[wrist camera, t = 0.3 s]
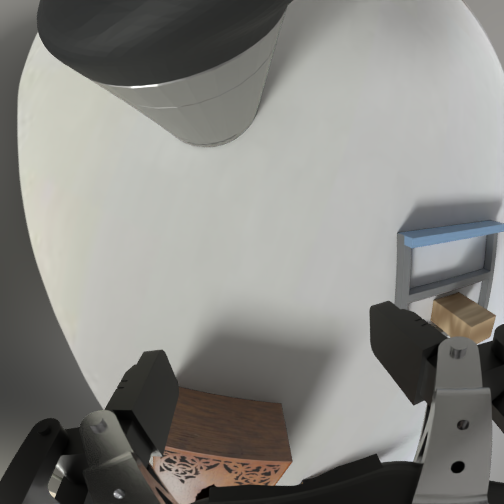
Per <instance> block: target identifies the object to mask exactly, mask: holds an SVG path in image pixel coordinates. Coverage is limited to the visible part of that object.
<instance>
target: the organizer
mask: <svg viewBox="0 0 504 504" xmlns="http://www.w3.org/2000/svg"><path fill="white" fill-rule="evenodd" d="M499 232H504V223H500V222H496V221H492V220H489V221H481V222H474V223H466V224H459V225H452V226H444V227H437V228H429V229H422V230H415V231H407V232H400V233H397V275H396V292H395V305H396V306H397V307H398V308H399V309H406V310H407V308H408V303H411V302H415V301H418V300H422V299H426V298H429V297H433V296H436V295H440V294H443V293H446V292H449V291H453V290H456V289H459V288H462V287H465V286H468V285H471V284H474V283H477V282H480V281H482V285H481V291H480V297H479V302H478V304H479V305H480V306H482V307H483V308H485V309H487V307H488V302H489V297H490V292H491V286H492V280H493V274H494V266H495V258H496V248H497V235H498V233H499ZM483 235H487V241H486V253H485V263H484V269H481V270H478V271H474V272H471V273H467V274H464V275H461V276H457V277H454V278H450V279H446V280H443V281H439V282H435V283H431V284H427V285H423V286H419V287H415V288H411V289H409V287H410V273H411V249H412V248H416V247H422V246H428V245H433V244H439V243H445V242H450V241H456V240H461V239H467V238H472V237H478V236H483ZM436 329H437V330H438V331H440V332H441V333H442V334H443V335H445V336H448V334H447V333H445V332H444V331H443V330H442V329H441V328H439V327H436Z"/></svg>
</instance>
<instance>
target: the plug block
mask: <svg viewBox="0 0 504 504" xmlns="http://www.w3.org/2000/svg"><path fill="white" fill-rule="evenodd" d="M495 317H496V315H494V314H493V313H491V312H490V311H488V310H487V309H485V308H483V307H482V306H480V305H479V304H477V303H475V302H474V301H472V300H471V299H469V298H467V297H466V296H464V295H462V294H461V293H459V292H458V293H455V294H452V295H449V296H445V297H442V298H439V299H436V300H434V301H433V308H432V315H431V321H432V322H433V323H435V324H436V325H437V326H438V327H439V328H441V329H442V330H443V331H444V332H445V333H447V334H448V335H449V336H450V337H457V336H460V337H466V338H469V339H471V340H473V341H474V342H475V343H476V344H478V343H480V342H482V341H483V340H485V339H487V338H489V337H490V336H491V332H492V329H493V325H494V321H495Z"/></svg>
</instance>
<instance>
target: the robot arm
mask: <svg viewBox="0 0 504 504" xmlns="http://www.w3.org/2000/svg"><path fill="white" fill-rule="evenodd" d="M292 1H293V0H40V4H39V8H38V12H37V28H38V33H39V36H40V38H41V40H42V42H43V44H44V46H45V47H46V48H47V50H48V51H49V52H50V53H51V54H52V55H53V56H54V57H56V58H57V59H58V60H60V61H61V62H62V63H64V64H65V65H67V66H69V67H70V68H72V69H74V70H75V71H77V72H78V73H80V74H82V75H83V76H85V77H87V78H89V79H90V80H91V81H93V82H95V83H96V84H98V85H99V86H101V87H103V88H104V89H106V90H107V91H109V92H110V93H112V94H113V95H115V96H117V97H118V98H120V99H122V100H123V101H125V102H126V103H128V104H129V105H131V106H132V107H134V108H135V109H136V110H138V111H139V112H141V113H142V114H144V115H145V116H147V117H148V118H150V119H151V120H153V121H154V122H155V123H157V124H158V125H160V126H161V127H163V128H164V129H165V130H167V131H168V132H170V133H171V134H172V135H174V136H175V137H177V138H178V139H180V140H181V141H183V142H185V143H188V144H190V145H193V146H199V147H215V146H219V145H223V144H226V143H228V142H230V141H232V140H235V139H236V138H237V137H239V136H240V135H241V134H243V133H244V132H245V131H246V129H247V128H248V127H249V126H250V125H251V123H252V121H253V120H254V118H255V115H256V112H257V109H258V105H259V102H260V99H261V95H262V91H263V88H264V84H265V81H266V77H267V74H268V70H269V67H270V63H271V60H272V56H273V53H274V49H275V46H276V42H277V38H278V35H279V31H280V28H281V25H282V22H283V18H284V15H285V12H286V8H287V5H288V4H290V3H291V2H292ZM370 343H371V348H372V351H373V353H374V355H375V356H376V357H377V359H378V360H379V361H380V363H381V364H382V365H383V366H384V368H385V369H386V370H387V372H388V373H389V374H390V375H391V377H392V378H393V379H394V381H395V382H396V383H397V384H398V386H399V387H400V388H401V390H402V391H403V392H404V394H405V395H406V396H407V398H408V399H409V400H410V402H411V403H412V404H413V405H416V404H418V403H420V402H422V401H424V400H425V401H426V403H427V407H426V411H425V416H424V421H423V426H422V431H421V435H420V439H419V444H418V447H417V451H416V454H415V457H414V460H413V462H408V461H392V462H383V463H381V462H380V460H379V458H378V456H377V454H374V455H371V456H369V457H366V458H363V459H360V460H357V461H354V462H351V463H348V464H345V465H342V466H338V467H336V468H334V469H332V470H330V471H328V472H326V473H324V474H322V475H320V476H317V477H315V478H313V479H311V480H309V481H306V482H304V483H302V484H299V485H296V486H270V485H254V484H247V485H237V486H222V487H210V489H209V497H208V498H204V499H201V500H198V501H195V502H192V503H190V504H504V483H500V482H495V481H489V477H490V467H491V455H492V420H493V421H494V422H495V423H496V424H497V426H498V427H499V428H500V429H501V431H502V432H503V433H504V324H502V325H500V326H498V327H497V328H496V330H495V333H494V337H493V341H490V342H486V343H483V344H479V345H477V344H476V343H475V342H474V341H473V340H471V339H469V338H466V337H460V336H457V337H451V338H447V337H446V336H445V335H443V334H442V333H441V332H440V331H438V330H437V329H436V328H434V327H433V326H432V325H430V324H428V322H426V321H425V320H424V319H422V318H421V317H420V316H418V315H417V314H416V313H414V312H412V311H409V310H406V309H399V308H398V307H397V306H396V305H394V304H393V303H392V302H390V301H386V302H383V303H379V304H376V305H373V306H371V307H370ZM178 397H179V386H178V382H177V379H176V377H175V375H174V372H173V370H172V368H171V365H170V363H169V360H168V358H167V356H166V353H165V352H164V351H163V350H155V351H146V352H143V354H142V356H141V357H140V359H139V361H138V363H137V365H134V366H132V367H131V368H130V369H129V370H128V371H127V372H126V373H125V375H124V376H123V378H122V380H121V382H120V383H119V385H118V387H117V389H116V390H115V392H114V394H113V395H112V397H111V399H110V401H109V403H108V404H107V406H106V408H105V410H99V411H95V412H93V413H91V414H89V415H87V416H86V417H85V418H84V419H83V420H82V421H81V423H80V426H79V427H78V428H71V429H64V428H63V427H62V425H61V424H60V422H59V421H58V420H56V419H54V418H47V419H44V420H42V421H40V422H38V423H37V424H36V425H35V426H34V427H33V428H32V430H31V431H30V433H29V434H28V436H27V437H26V439H25V440H24V442H23V444H22V445H21V447H20V448H19V450H18V452H17V453H16V455H15V457H14V458H13V460H12V462H11V463H10V465H9V467H8V468H7V470H6V472H5V474H4V476H3V477H2V479H1V481H0V504H179V503H178V502H177V501H176V500H175V498H174V497H173V496H172V494H171V493H170V492H169V490H168V489H167V488H166V486H165V485H164V483H163V482H162V480H161V479H160V478H159V476H158V475H157V473H156V472H155V470H154V468H153V467H152V466H151V464H150V463H149V460H150V457H151V456H155V457H163V455H164V451H165V447H166V443H167V439H168V435H169V431H170V427H171V423H172V419H173V416H174V412H175V408H176V405H177V401H178ZM55 467H56V468H57V469H58V470H59V471H60V472H61V473H62V474H63V475H64V477H63V479H62V482H61V484H60V486H59V489H58V491H57V494H56V496H55V499H54V498H53V497H52V496H51V494H50V493H49V490H48V482H49V480H50V478H51V476H52V474H53V471H54V469H55Z"/></svg>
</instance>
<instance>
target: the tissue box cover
mask: <svg viewBox="0 0 504 504" xmlns="http://www.w3.org/2000/svg"><path fill="white" fill-rule="evenodd" d="M292 462H293V461H292V456H291V451H290V446H289V441H288V436H287V430H286V425H285V420H284V415H283V410H282V405H281V404H280V403H270V402H261V401H253V400H246V399H239V398H233V397H227V396H221V395H215V394H210V393H205V392H200V391H195V390H190V389H186V388H182V387H179V397H178V401H177V405H176V408H175V412H174V416H173V419H172V423H171V427H170V431H169V435H168V439H167V443H166V447H165V451H164V455H163V457H155V456H153V468H154V470H155V472H156V473H157V475H158V476H159V478H160V479H161V480H162V482H163V483H164V485H165V486H166V488H167V489H168V490H169V492H170V493H171V494H172V496H173V497H174V498H175V500H176V501H177V502H178V503H179V504H190V503H192V502H195V501H198V500H201V499H204V498H208V497H209V489H210V487H222V486H237V485H247V484H254V485H270V486H275V484H276V483H277V482H278V481H279V479H280V478H281V477H282V475H283V474H284V473H285V471H286V470H287V469H288V467H289V466H290V464H291V463H292Z"/></svg>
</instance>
